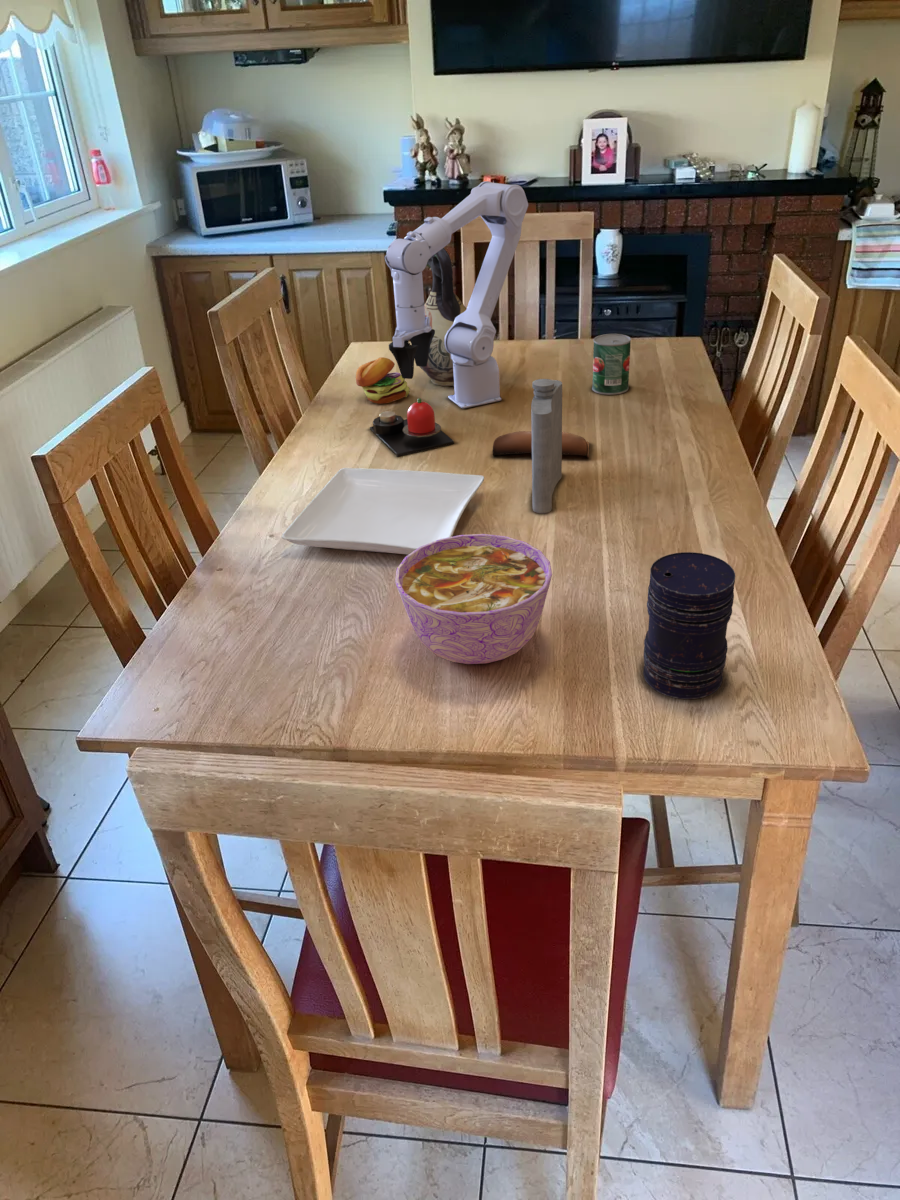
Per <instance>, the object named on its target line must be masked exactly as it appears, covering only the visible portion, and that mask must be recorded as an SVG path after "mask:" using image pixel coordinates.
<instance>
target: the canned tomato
mask: <svg viewBox="0 0 900 1200" xmlns="http://www.w3.org/2000/svg"><path fill="white" fill-rule="evenodd" d="M631 342H632V338H631V337H630V336H629V335H626V334H622V333H606V334H599V335H597V336H595V337H593V354H592V386H591V390H592V391H593V392H594V393H596V394H599V395H605V396H606V395H607V396H614V395H620V394H624V393H626V392H627V391H629V388H630V387H629V383H630V366H631V365H630V363H631V361H630V360H631Z"/></svg>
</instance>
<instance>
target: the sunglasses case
mask: <svg viewBox="0 0 900 1200" xmlns="http://www.w3.org/2000/svg"><path fill="white" fill-rule="evenodd" d="M515 454H516V455H517V454H519V455H520V454H521V455H522V454H532V430H521V431H520V430H519V431H514V432H509V433H505V434H502V435H499V436H497V437H496V438H495V439H494V441H493V444H492V456H496V455H515ZM562 455H565V456H566V455H568V456H570V455H571V456H582V457H583V456H585V457H586V458H590V442H589V441H587V440H586V439H585V438H584V437H582V436H581V435H577V434H575V433H571V432H566V431H562Z"/></svg>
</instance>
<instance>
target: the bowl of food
mask: <svg viewBox="0 0 900 1200" xmlns="http://www.w3.org/2000/svg"><path fill="white" fill-rule="evenodd" d="M395 570H396V571H395V572H396V573H395V580H394V583H395V585H396V588H397V592H398V593H399V596H400V599H401V601H402V605H403V606H404V609H405V613H406V614H407V617H408V619H409V622H410V624H411V626H412V628H413V630H414V633H415V634H416V636H417V638H418V640H419V642H420V643H421V644H422V645H423V646H424V647H426V649H428V650H429V651H430V652H432V653H433V654H434V655H435V656H436V657H438V658H441V659H443V660H447V661H449V662H450V663H451V662H453V663H460V664H466V665H479V664H481V665H482V664H489V663H493V662H497V661H501V660H502V661H503V660H504V659H507V658H509V657H511V656H512V655H515V654H517V653H518V652H519V651H520V650H521V649H523V648H524V647H525V645H527V644H528V642H529V641H530V640H531V639H532V638H533V637H534V635H535V632H536V630H537V628H538V626H539V622H540V619H541V617H542V614H543V610H544V607H545V603H546V599H547V595H548V592H549V589H550V585H551V581H552V578H553V572H552V566H551V561H550V560H549V559H548V558H547V557H546V555H545V554H544V552H542V551H541V550H540V549H538V548H536V547H535V546H533V545H531V544H529V543H528V542H526V541H523V540H519V539H516V538H513V537H510V536H506V535H496V534H487V533H476V534H475V533H474V534H459V535H454V536H453V535H452V537H449V538H444V539H439V540H436V541H434V542H431V543H429V544H426V545H424V546H421V547H419V548H418V549H416V550H415V551H413V552H412V553H410V554H409V555H408V554H406V556H404V558H403V560H401V562H400V564H399V565H398V566H397V568H396V569H395Z"/></svg>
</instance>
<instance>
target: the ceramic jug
mask: <svg viewBox="0 0 900 1200" xmlns="http://www.w3.org/2000/svg"><path fill="white" fill-rule="evenodd" d="M426 267H428V268H429V269H430V270H431V272H432V287H431V288H432V289H431V290H430V293H429V295H428V297H427V299H426V300H425V302H424V308H425V317H429V321H430V326H431V329H434V330H435V334H434V337H433V339H432V342H431V345H430V349H429V356H428V362H427V366H426V367H422V366H418V367H419V368H420V369H421V370H422V371H423V372H424V373H425V374H426V376H427V377H428V378H429V379H430V381H431V383H432V384H434V385H437V386H445V387H451V386H452V387H454V374H453V360H452V359H451V354H450V353H449V352H447V350H446V348H445V344H444V340H445V335H446V333H447V331H448V330H449V329H450V327H451V326H452V325H453V323H454V320H455V318H456V317H457V316H458V315H460V314H461V313H463V312H464V311H466V309H467V307H466V306H465V304H464V303H463V301H461V299H460V297H458V296H457V294H456V293H455V292H454V283H453V282H454V281H453V280H454V275H453V274H454V273H453V272H454V271H453V264H452V259H451V256H450V253H449V252H448V251H447V250H446V249H445V247H444V248H442V249H441V250H440V251H438V252H437V253H436V254H434V255H433V256H432V257H431V258H430V259H429V260H428V262H427V265H426ZM473 330H476V331H477V329H473Z"/></svg>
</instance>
